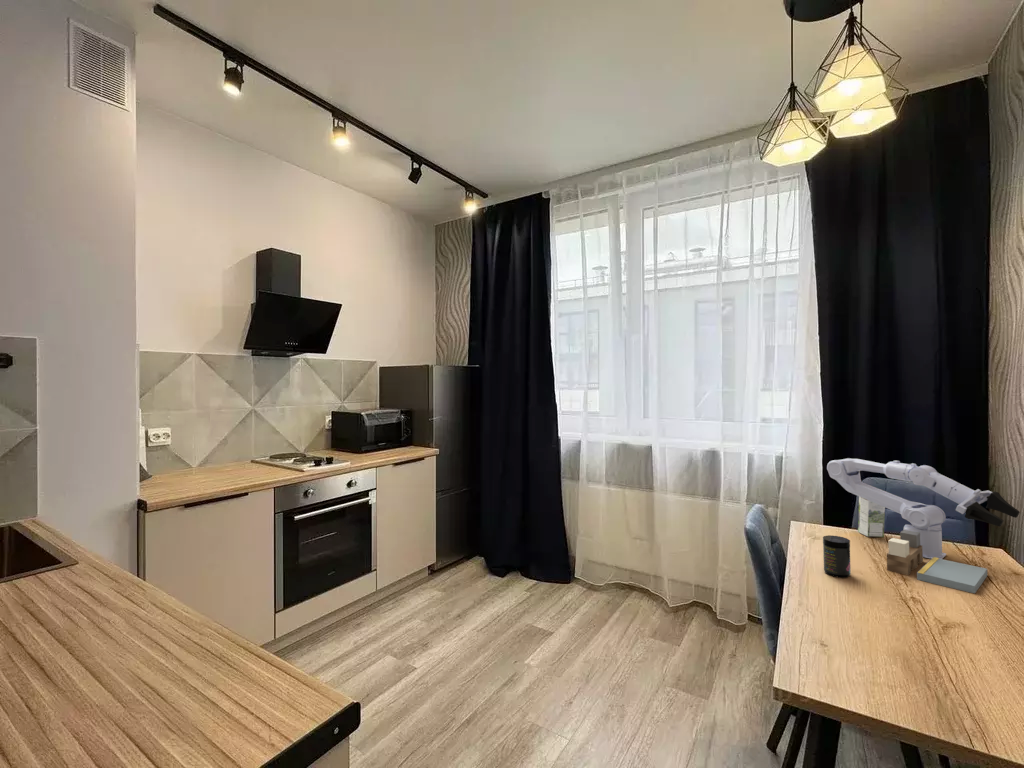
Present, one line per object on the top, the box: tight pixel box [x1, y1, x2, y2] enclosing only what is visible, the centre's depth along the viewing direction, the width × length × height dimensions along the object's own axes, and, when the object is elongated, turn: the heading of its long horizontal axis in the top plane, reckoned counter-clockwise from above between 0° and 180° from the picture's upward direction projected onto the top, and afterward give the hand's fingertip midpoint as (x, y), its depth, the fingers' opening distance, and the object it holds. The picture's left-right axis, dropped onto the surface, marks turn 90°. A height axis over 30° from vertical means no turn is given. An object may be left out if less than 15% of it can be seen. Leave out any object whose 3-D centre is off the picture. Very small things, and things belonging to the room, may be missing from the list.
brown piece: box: [886, 545, 924, 576], centre depth 146 cm, size 5×16×5 cm, turn 127°
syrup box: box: [857, 496, 886, 538], centre depth 174 cm, size 6×6×14 cm
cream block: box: [887, 537, 909, 558], centre depth 142 cm, size 4×4×4 cm
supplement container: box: [822, 535, 852, 579], centre depth 142 cm, size 7×7×10 cm
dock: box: [916, 557, 988, 594], centre depth 137 cm, size 12×18×2 cm, turn 127°
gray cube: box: [899, 530, 920, 548], centre depth 150 cm, size 4×4×4 cm
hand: (1009, 519), depth 136 cm, fingers open, 7 cm apart
